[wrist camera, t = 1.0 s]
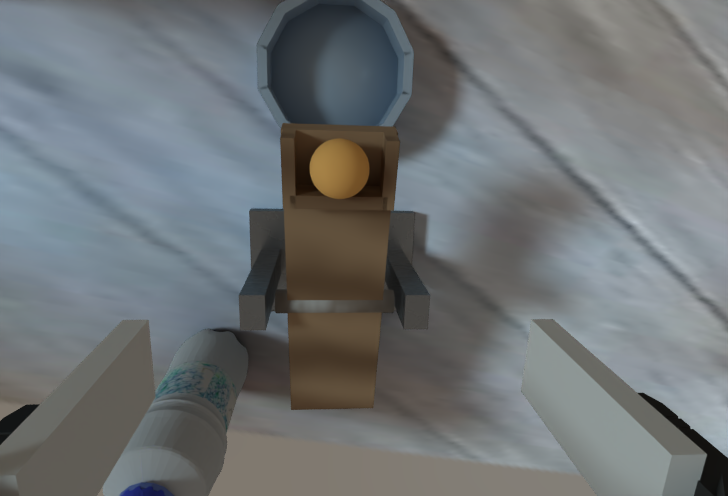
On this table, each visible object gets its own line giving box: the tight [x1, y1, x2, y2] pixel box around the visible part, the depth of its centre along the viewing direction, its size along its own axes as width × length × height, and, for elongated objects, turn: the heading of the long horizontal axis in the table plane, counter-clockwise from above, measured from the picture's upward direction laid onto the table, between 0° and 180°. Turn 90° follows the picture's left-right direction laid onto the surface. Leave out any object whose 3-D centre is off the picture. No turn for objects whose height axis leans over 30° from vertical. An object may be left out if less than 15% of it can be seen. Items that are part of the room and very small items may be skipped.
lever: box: [275, 123, 400, 410], centre depth 33 cm, size 22×8×8 cm, turn 178°
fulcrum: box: [239, 209, 430, 330], centre depth 36 cm, size 9×14×12 cm, turn 88°
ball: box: [310, 138, 369, 199], centre depth 25 cm, size 3×3×3 cm
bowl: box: [257, 0, 414, 128], centre depth 36 cm, size 11×11×4 cm
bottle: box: [103, 329, 248, 496], centre depth 34 cm, size 7×7×20 cm
